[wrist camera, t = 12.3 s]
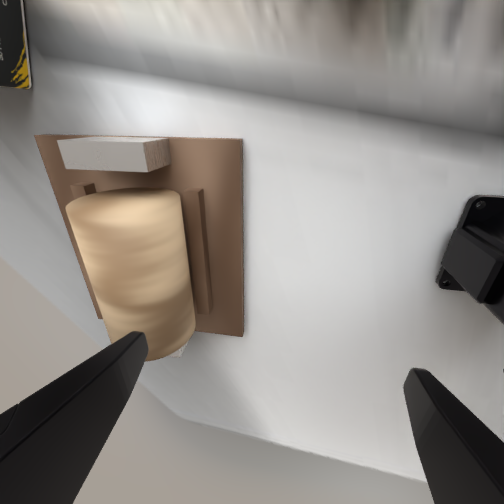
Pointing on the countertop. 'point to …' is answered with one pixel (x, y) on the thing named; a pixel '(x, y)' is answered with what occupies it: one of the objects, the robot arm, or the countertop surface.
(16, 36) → the medicine bottle
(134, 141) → the holder stand
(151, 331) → the paper roll
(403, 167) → the countertop surface
